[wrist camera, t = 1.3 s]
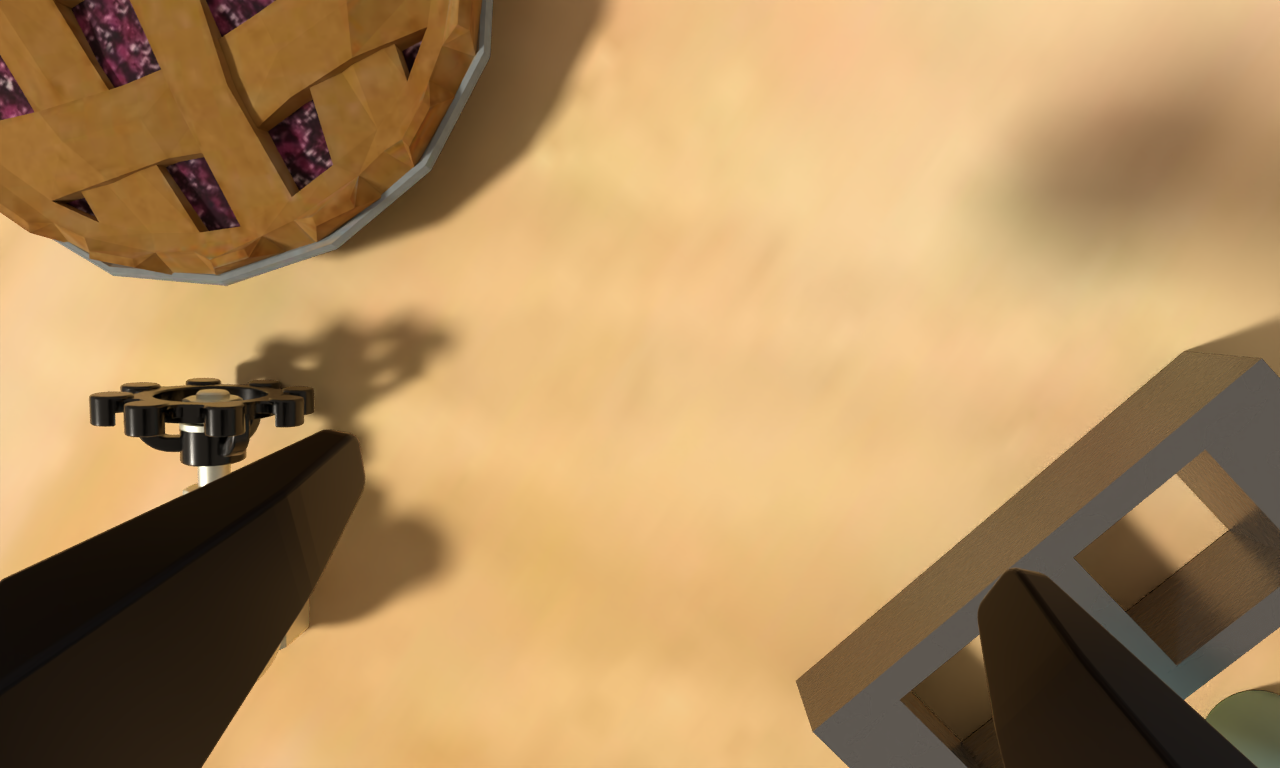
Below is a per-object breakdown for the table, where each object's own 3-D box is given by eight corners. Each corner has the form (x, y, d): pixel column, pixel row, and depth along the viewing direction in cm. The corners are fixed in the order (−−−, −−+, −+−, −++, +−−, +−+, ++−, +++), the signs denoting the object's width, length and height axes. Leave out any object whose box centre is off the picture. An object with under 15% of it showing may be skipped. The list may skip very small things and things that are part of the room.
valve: (346, 653, 26) (350, 386, 25) (238, 769, 20) (234, 415, 18) (203, 638, 27) (197, 372, 25) (49, 746, 20) (28, 396, 18)
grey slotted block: (923, 806, 26) (956, 872, 23) (796, 681, 25) (812, 731, 22) (1317, 497, 23) (1413, 525, 20) (1183, 351, 23) (1261, 358, 20)
